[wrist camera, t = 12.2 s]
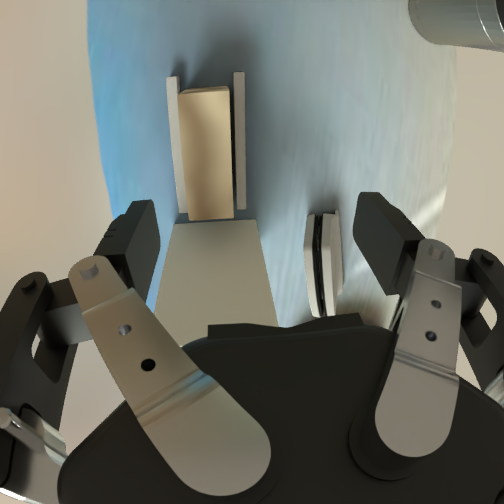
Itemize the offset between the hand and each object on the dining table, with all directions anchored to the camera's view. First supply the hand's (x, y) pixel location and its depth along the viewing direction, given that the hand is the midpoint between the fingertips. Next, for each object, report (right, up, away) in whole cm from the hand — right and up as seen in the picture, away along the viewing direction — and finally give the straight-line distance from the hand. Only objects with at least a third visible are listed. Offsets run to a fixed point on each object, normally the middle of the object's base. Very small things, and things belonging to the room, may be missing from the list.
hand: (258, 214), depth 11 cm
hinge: (+11, -2, +38) cm, 40 cm away
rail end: (-6, +13, +25) cm, 29 cm away
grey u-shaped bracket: (-6, +10, +27) cm, 30 cm away
